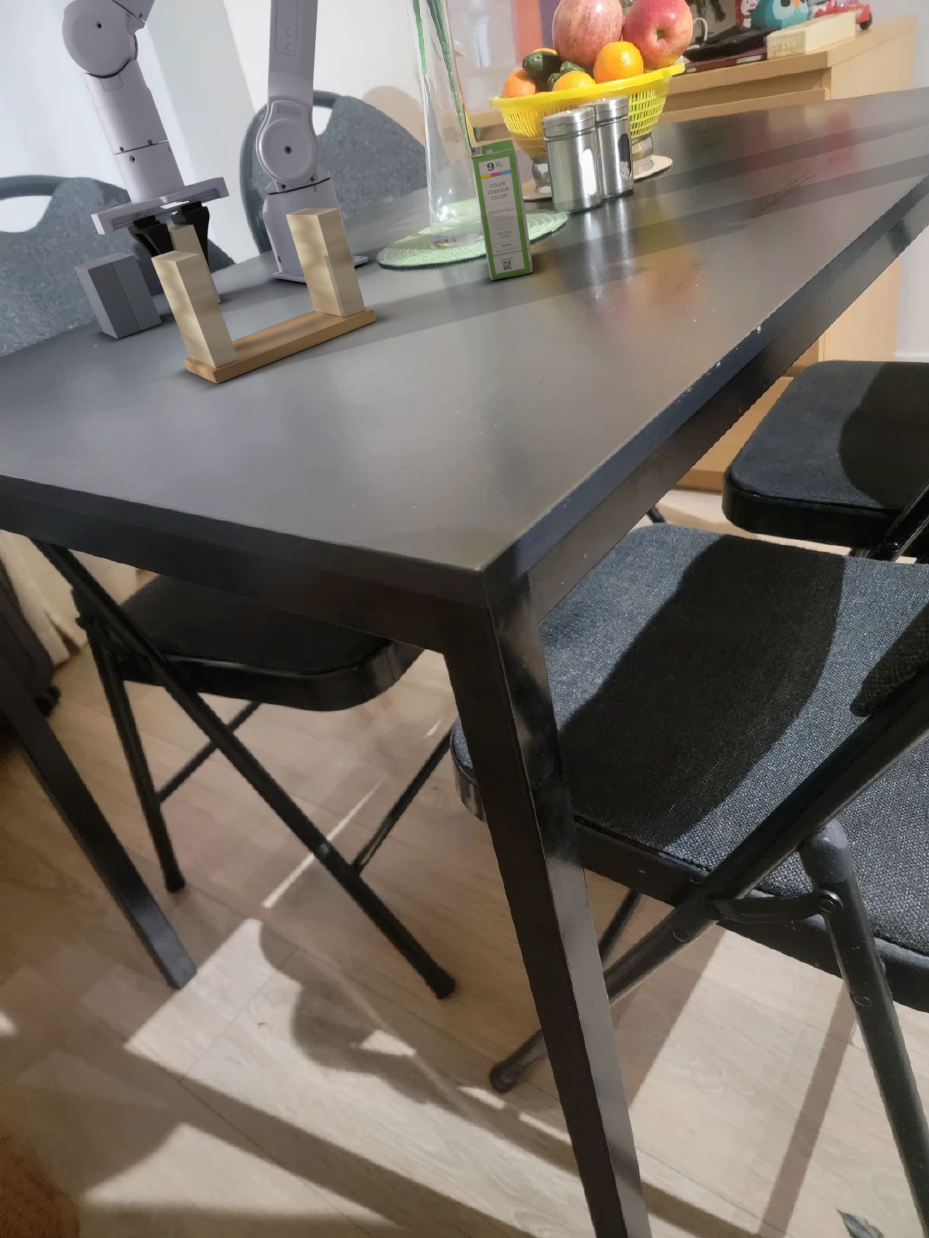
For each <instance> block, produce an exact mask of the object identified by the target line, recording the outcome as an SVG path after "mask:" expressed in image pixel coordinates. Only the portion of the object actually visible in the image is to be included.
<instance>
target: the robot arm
mask: <svg viewBox="0 0 929 1238" xmlns="http://www.w3.org/2000/svg"><path fill="white" fill-rule="evenodd" d="M155 1H156V0H71V2H69V3H68V4H67V5H66V6H65V7H64V9H63V19H62V23H61V37H62V41H63V44H64V47H65V49H66V51H67V54H68V55H69V57H70V58H71V59H72V60H73V62H74V63H76V65H77V66H78V67H80V68H81V69H83V70H84V71H85V72H84V71H83V72H82V73H81V74H82V76H83V78H84V81H85V86H86V88H87V90H88V92H89V94H90V97H91V99H92V105H93V108H94V110H95V114H96V115H97V118H98V120H99V123H100V125H101V128H102V131H103V133H104V136H105V138H106V141H107V143H108V146H109V149H110V151H111V153H112V156H113V158H114V161H115V163H116V166H117V169H118V171H119V174H120V176H121V178H122V181H123V184H124V186H125V189H126V192H127V193H128V196H129V199H130V201H127V202H126V203H123V204H119V205H116V206H114V207H112V208H108V209H105V210H102V211H98V212H95V213H92V214H90V217H91V219H92V221H93V224H94V226H95V228H96V231H97V233H98V235H100V236H103V235H104V236H105V235H109V234H112V233H115V232H116V231H119V230H123V229H125V228H126V229H127V230H128V233H129V234H130V236H131V237H132V238H133V239H134V240H135V241H136V242H137V243H138V244H139V245H140V246H141V247H142V248H143V249H144V250H145V251H146V252H147V253H148V255H150V257H151V258H153V257H156V256H159V255H162V254H165V253H168V252H171V251H173V247H172V243H171V240H170V235H169V231H168V226H169V225H168V224H167V223H165V222H161V221H160V220H159V219H158V218H160V217H164V216H167V215H171V214H172V215H171V216H170V219H171V222H172V223H173V225H193V226H194V229H195V232H196V235H197V237H198V240H199V243H200V246H201V248H202V251H203V254H204V257H205V259H206V262H207V265H208V268H209V270H210V271H211V269H210V262H209V261H210V259H209V249H208V248H209V245H208V242H209V226H210V219H211V215H210V210H209V207H208V206H206V205H203V204H205V203H209V202H212V201H215V200H219V199H224V198H227V197H230V193H229V190H228V187H227V184H226V181H225V178H224V176H217V177H213V178H209V179H205V180H202V181H199V182H195V183H191V184H187V185H185V182H184V180H183V177H182V174H181V171H180V169H179V165H178V163H177V161H176V157H175V155H174V152H173V149H172V147H171V144H170V141H169V138H168V135H167V132H166V130H165V127H164V124H163V122H162V119H161V116H160V114H159V111H158V107H157V105H156V102H155V100H154V96H153V94H152V91H151V88H149V87H148V85H147V83H146V80H145V77H144V75H143V72H142V69H141V66H140V63H139V60H138V57H139V44H138V43H139V42H138V38H137V35H136V33H137V32H138V31H139V30H142V29H145V28H144V27H145V26H146V22H147V21H148V18H149V16H150V13H151V12H152V9H153V7H154V3H155ZM318 9H319V0H270V11H269V12H270V14H269V21H270V22H269V46H268V50H269V51H268V75H267V76H268V77H267V95H266V96H267V98H266V113H265V115H264V116H265V117H264V119H263V121H262V123H261V125H260V126H259V128H258V131H257V134H256V138H255V153H256V157H257V160H258V162H259V165H260V166H261V168H262V171H264V172H265V173H266V175H267V176H269V177H270V178H271V180H270V182H269V184H268V185H267V186H265V187H264V192H265V193H266V197H265V199H264V202H263V205H262V219H263V224H264V226H265V230H266V232H267V236H268V240H269V241H270V245H271V249H272V252H273V255H274V258H275V262H276V264H277V265H276V266H277V268H278V271H276V272H274V273H272V277H273V278H275V279H278V280H279V279H280V280H286V281H292V282H298V283H303V284H304V283H305V284H307V283H306V280H305V276H304V273H303V270H302V266H301V263H300V260H299V257H298V253H297V250H296V247H295V243H294V240H293V237H292V233H291V230H290V227H289V223H288V220H287V217H286V215H287V214H289V213H293V212H296V211H299V210H302V209H305V208H338V209H339V212H340V216H341V220H342V224H343V227H344V231H345V235H346V239H347V242H348V246H349V250H350V254H351V257H352V261H353V265H354V267H356V266H359V265H362V264H366V263H368V262H369V257H368V256H363V255H362V256H361V255H354V254H353V252H352V249H351V245H350V242H349V236H348V234H347V230H346V227H345V222H344V219H343V216H342V215H343V214H342V211H341V206H340V204H339V199H338V196H337V193H336V189H335V185H334V181H333V177H331V176H332V174H331V171H330V169H329V168H324V167H323V166H321V165H320V164H319V163H320V159H321V147H320V142H319V138H318V136H317V133H316V131H315V128H314V121H313V111H314V79H315V78H314V77H315V61H316V60H315V59H316V41H317V27H318V26H317V23H318ZM173 203H177V205H174V206H171V207H168V208H164V209H161V210H157V211H154V212H151V210H152V209H155V208H156V209H157V208H160V207H163V206H166V205H170V204H173ZM178 203H180V204H178ZM173 213H174V214H173ZM157 219H158V220H157Z"/></svg>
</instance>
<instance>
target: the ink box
mask: <svg viewBox="0 0 929 1238" xmlns="http://www.w3.org/2000/svg"><path fill="white" fill-rule="evenodd" d="M461 113H462V120H463V124H464V130H465V134H466V139H467V146H468V153H469V162H470V167H471V174H472V178H473V181H474V187H475V192H476V194H475V195H476V200H477V206H478V207H477V208H478V213H479V219H480V226H481V232H482V238H483V244H484V250H485V255H486V256H485V257H486V261H487V266H488V273H489V278H490V280H492V281H493V280H499V279H504V278H505V279H506V278H511V277H517V276H522V275H526V274H530V273H532V272H533V271H534V270H533V258H532V250H531V242H530V236H529V229H528V220H527V214H526V207H525V200H524V195H523V189H522V182H521V181H522V180H521V175H520V169H519V163H518V162H519V161H518V157H517V151H516V148H515V145H514V141H513V139H506V140H500V141H495V142H491V143H486V144H483V145H479V146H475V147H473V146H472V143H471V139H470V135H469V128H468V123H467V116H466V111H465V103H461Z"/></svg>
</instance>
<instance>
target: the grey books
mask: <svg viewBox="0 0 929 1238" xmlns="http://www.w3.org/2000/svg"><path fill="white" fill-rule="evenodd" d="M73 269H74V271H75V273H76V275H77V277H78V280H79V281H80V284H81V286H82V288H83V291H84V292H85V296H86V297H87V299H88V302H89V303H90V306H91V308H92V310H93V312H94V315H95V317H96V319H97V321H98V324H99V326H100V328H101V331H102V332H103V333H104V334H106V335H108V336H110V337H112V338H115V339H118V340H120V339H122V338H125V337H128V336H131V335H133V334H137V333H139V332H142V331H145V330H148V329H150V328H153V327H156V326H159V325H162V324H163V322H162V319H161V317H160V314H159V312H158V309H157V307H156V303H155V302H154V300H153V297H152V294H151V292H150V290H149V287H148V285H147V282H146V279H145V277H144V275H143V272H142V270H141V268H140V266H139V263H138V261H137V258H136V255H135V254H131V253H126V252H125V253H124V252H120V251H119V252H115V253H112V254H108V255H106V256H102V257H99V258H97V259H92V260H89V261H86V262H83V263H80V264H77V265H74V266H73Z"/></svg>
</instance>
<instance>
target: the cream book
mask: <svg viewBox="0 0 929 1238" xmlns="http://www.w3.org/2000/svg"><path fill="white" fill-rule="evenodd" d="M167 226H168V231H169V235H170V240H171V243H172V247H173V251H181V252H189V253H196V254H200V255H201V258H202V261H203V264H204V266H205V269H206V272H207V275H208V277H209V280H210V283H211V285H212V288H213V291H214V294H215V296H216V299H217V302H218V304H220V303H222V300H221V298H220V295H219V292H218V290H217V287H216V284H215V281H214V279H213V276H212V274H211V269H210V270H209V268H210V267H209V268H208V265H207V262H206V259H205V257H204V254H203V251H202V248H201V246H200V243H199V240H198V237H197V235H196V232H195V229H194V226H193V225H174V224H169V225H167Z"/></svg>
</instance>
